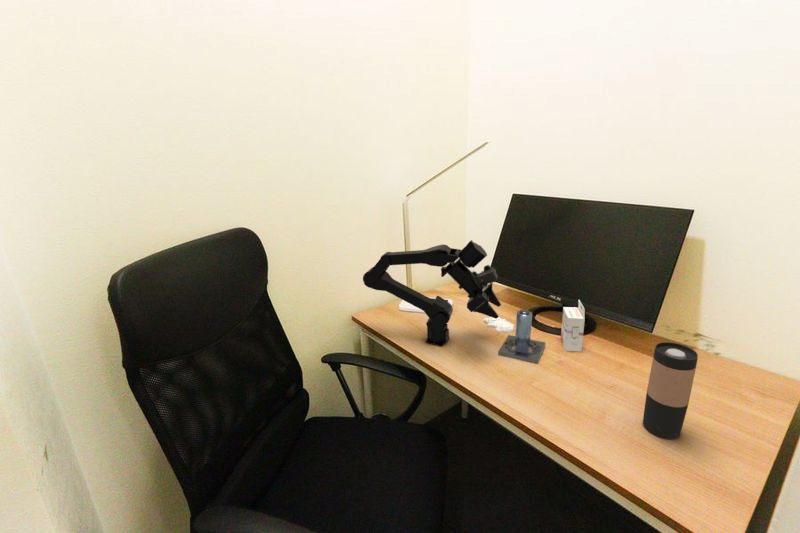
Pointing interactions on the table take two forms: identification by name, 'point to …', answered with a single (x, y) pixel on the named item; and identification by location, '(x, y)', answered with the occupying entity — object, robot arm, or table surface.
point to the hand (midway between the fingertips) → (498, 311)
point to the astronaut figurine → (499, 324)
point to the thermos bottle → (523, 331)
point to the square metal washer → (529, 357)
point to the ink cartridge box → (573, 327)
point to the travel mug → (669, 389)
